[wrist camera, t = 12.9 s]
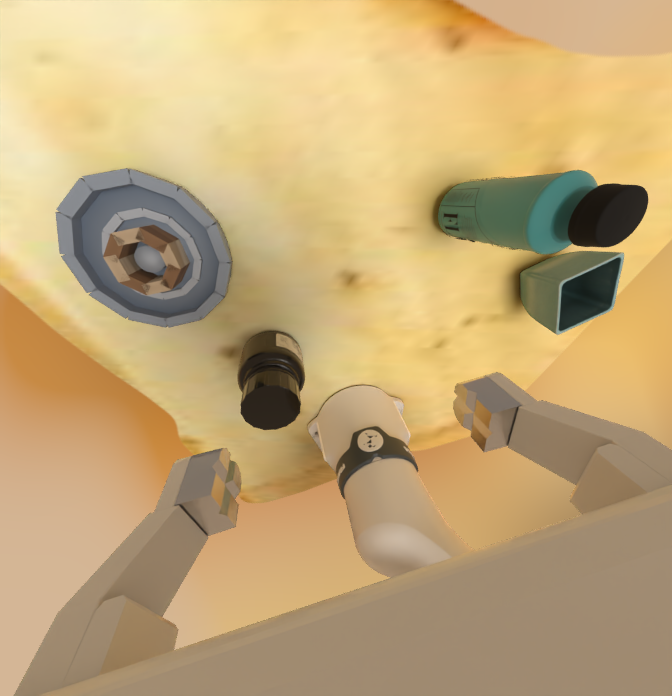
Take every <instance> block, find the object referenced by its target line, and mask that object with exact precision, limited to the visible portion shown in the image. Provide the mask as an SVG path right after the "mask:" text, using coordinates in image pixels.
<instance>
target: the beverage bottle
mask: <svg viewBox="0 0 672 696" xmlns="http://www.w3.org/2000/svg"><path fill="white" fill-rule="evenodd" d="M511 177H512V176H511ZM493 178H496V179H492V178H491V180H490V179H489V180H487V178H486V180H482V179H481V180H480V179H479V180H480V181H472V182H464V183H461V184H458V185H456V186H455V187H453V188H452V189H451V190H450V191H449V192H448V193H447V194H446V195H445V197H444V198H443V200H442V202H441V204H440V207H439V212H438V221H439V225H440V227H441V228H442V230H443V232H445V233H446V234H447V235H450V236H453V237H456V239H460V238H461V239H462V240H466V239H468V240H470V241H472V242H475V241H479V242H484V243H489V244H494V245H498V246H500V247H502V246H504V248H505V247H510V248H512V250H516V249H522V250H528V251H533V252H536V253H539V254H552V253H556V252H558V251H561V250H563V249H565V248H566V247H568V246H569V245H571V244H572V243H573V244H574V245H577V246H583V247H590V246H592V247H611V246H614V245H616V244H618V243H620V242H622V241H623V240H624V239H626V238H627V237H628V236H629V235H630V234H631V233H632V232H633V231H634V230H635V229H636V228H637V226H638V225H639V223H640V222H641V220H642V219H643V217H644V214H645V212H646V209H647V205H648V194H647V192H646V190H645V189H644V188H643V187H641V186H638V185H621V184H603V185H600V186H597V183H596V181H595V179H594V178H593V176H592V175H590V174H589V173H587V172H585V171H582V170H574V171H568V172H565V173H555V174H546V175H536V176H526V177H517V178H504V177H503V178H500V179H497V177H493ZM476 180H478V179H476ZM466 181H468V180H466ZM457 237H458V238H457ZM510 248H509V249H510ZM513 248H515V249H513ZM507 249H508V248H507Z"/></svg>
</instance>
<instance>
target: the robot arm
mask: <svg viewBox="0 0 672 696" xmlns="http://www.w3.org/2000/svg"><path fill="white" fill-rule="evenodd" d="M454 392H455V393H456V395H457V398H456V399H455V400H454V402H453V409H454V413H455V416H456V418H457V420H458V421H459V423H460V424H461V425H462V426H463V427H464V428H467V429H469V430H471V437H472V439H473V440H474V441H475V442H476V443H477V445H478V446H479V447H480V448H481V449H482V451H483V452H487V451H490V450H494V449H498V448H502V447H505V446H508V448H510V449H512V450H514V451H515V452H517V453H519V454H521V455H523V456H524V457H526V458H528V459H530V460H532V461H533V462H535V463H537V464H539V465H541V466H542V467H544V468H546V469H548V470H550V471H552V472H553V473H555V474H557V475H559V476H560V477H562V478H564V479H566V480H568V481H570V482H571V483H573V484H575V485H576V486H575V488H574V490H573V492H572V494H571V495H570V502H571V503H572V504H573V505H574V506H575V507H576V508H577V509H578V510H579V512H580V513H582V514H581V515H578V516H575V517H573V518H569V519H567V520H563V521H561V522H557V523H555V524H552V525H549V526H545V527H543V528H539V529H536V530H533V531H530V532H528V533H525V534H521V535H519V536H515V537H513V538H509V539H506V540H504V541H501V542H497V543H494V544H491V545H489V546H485V547H483V548H479V549H477V550H473V549H472V548H471V547H470V546H469V545H468V544H467V543H465V542H464V541H463V540H462V539H461V538H460V536H459V535H457V533H456V532H455V531H454V530H453V529H452V528H451V526H450V525H449V524H448V523H447V521H446V520H445V518H444V517H443V516H442V514H441V513H440V511H439V509H438V508H437V506H436V504H435V503H434V501H433V499H432V498H431V496H430V494H429V492H428V491H427V489H426V487H425V485H424V484H423V482H422V480H421V478H420V476H419V474H418V467H417V464H416V462H415V459H414V456H413V455H412V453H411V451H410V450H409V448H408V443H409V438H410V432H409V430H408V428H407V426H406V424H405V422H404V420H403V418H402V413H403V408H404V404H403V402H402V400H401V399H399V398H395V397H390V396H389V395H387V394H386V393H385V392H384V391H382V390H381V389H379V388H376V387H373V386H365V385H362V386H354V387H350V388H347V389H344V390H342V391H340V392H338V393H336V394H335V395H333V396H332V397H331V398H329V399H328V400H327V401H326V403H325V404H324V405H323V407H322V408H321V410H320V412H319V414H318V416H317V417H316V418H315V419H314V420H312V421H311V422H310V423H309V424H308V426H307V428H308V432H309V434H310V435H311V437H312V438H313V440H314V441H315V443H316V444H317V445H318V447H319V448H320V450H321V451H322V453H323V457H324V460H325V461H326V462H328V464H329V466H330V467H331V468H332V469H333V470H334V472H335V473H336V475H337V482H338V486H339V489H340V491H341V495H342V497H343V498H344V499H345V500H346V505H347V509H348V514H349V518H350V522H351V526H352V531H353V536H354V540H355V544H356V548H357V550H358V552H359V554H360V556H361V558H362V559H363V560H364V561H365V562H366V564H367V565H369V566H370V567H371V568H372V569H374V570H375V571H377V572H378V573H380V574H382V575H385V576H388V577H391V578H389V579H386V580H383V581H380V582H377V583H374V584H371V585H368V586H365V587H362V588H359V589H356V590H354V591H350V592H347V593H344V594H341V595H338V596H335V597H332V598H329V599H326V600H323V601H320V602H317V603H314V604H311V605H308V606H305V607H302V608H299V609H296V610H293V611H291V612H287V613H284V614H281V615H278V616H275V617H272V618H269V619H267V620H263V621H260V622H257V623H255V624H251V625H248V626H246V627H242V628H239V629H236V630H233V631H230V632H227V633H225V634H221V635H219V636H215V637H212V638H209V639H206V640H204V641H200V642H197V643H195V644H191V645H188V646H185V647H182V648H179V649H176V650H174V647H175V643H176V638H177V634H178V629H177V627H176V625H175V624H173V623H171V622H170V621H168V620H166V619H164V618H163V617H162V616H163V615H164V613H165V611H166V609H167V608H168V606H169V604H170V603H171V601H172V599H173V597H174V596H175V594H176V592H177V591H178V589H179V587H180V585H181V584H182V582H183V580H184V579H185V577H186V575H187V573H188V572H189V570H190V568H191V567H192V565H193V563H194V561H195V560H196V558H197V556H198V555H199V553H200V551H201V549H202V548H203V546H204V544H205V543H206V541H207V539H208V536H210V535H212V534H216V533H218V532H222V531H225V530H228V529H231V528H234V527H236V521H237V513H238V504H237V502H236V501H235V498H236V497H237V495H238V494H239V492H240V489H241V475H240V471H239V467H238V466H237V464H236V462H233V461H231V460H230V455H231V454H230V452H229V451H228V450H227V448H221V449H217V450H213V451H209V452H205V453H201V454H197V455H193V456H190V457H186V458H182V459H178V460H177V461H176V462H175V463H174V464H173V466H172V469H171V471H170V473H169V476H168V479H167V481H166V484H165V486H164V489H163V491H162V494H161V496H160V499H159V501H158V504H157V506H156V509H155V511H154V512H153V513H150V514H148V515H147V516H146V517H145V519H144V520H143V521H142V522H141V523H140V524H139V525H138V526H137V527H136V529H134V531H133V532H132V533H131V534H130V535H129V536H128V537H127V538H126V539H125V540H124V541H123V542H122V544H121V545H120V546H119V547H118V548H117V549H116V550H115V551H114V552H113V553H112V554H111V556H110V557H109V558H108V559H107V560H106V561H105V562H104V563H103V564H102V565H101V567H100V568H99V569H98V570H97V571H96V572H95V573H94V574H93V575H92V576H91V577H90V578H89V580H88V581H87V582H86V583H85V584H84V585H83V586H82V587H81V589H80V590H78V592H77V593H76V594H75V595H74V596H73V597H72V598H71V599H70V600H69V601H68V602H67V604H66V605H65V606H64V607H63V608H62V609H61V610H60V611H59V612H58V614H57V615H56V617H55V619H54V621H53V623H52V625H51V627H50V628H49V630H48V632H47V634H46V636H45V638H44V640H43V642H42V644H41V645H40V647H39V649H38V651H37V653H36V655H35V657H34V659H33V660H32V662H31V664H30V666H29V668H28V670H27V672H26V674H25V675H24V677H23V679H22V681H21V683H20V685H19V687H18V689H17V690H16V693H15V694H14V696H672V450H671V449H669V448H667V447H666V446H664V445H663V444H661V443H660V442H658V441H657V440H655V439H653V438H652V437H650V436H649V435H647V434H645V433H644V432H641V431H638V430H635V429H632V428H628V427H626V426H622V425H619V424H616V423H613V422H609V421H607V420H603V419H600V418H597V417H594V416H590V415H587V414H584V413H581V412H578V411H575V410H572V409H568V408H565V407H562V406H559V405H556V404H552V403H549V402H546V401H543V400H541V401H537V400H535V399H534V398H533V397H531V396H530V395H529V394H528V393H526V392H525V391H524V390H522V389H521V388H520V387H518V386H517V385H516V384H515V383H513V382H512V381H511V380H509V379H508V378H507V377H505V376H504V375H503V374H501V373H498V372H496V373H492V374H489V375H485V376H483V377H478V378H475V379H471V380H468V381H464V382H461V383H457V384H456V386H455V391H454Z"/></svg>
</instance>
